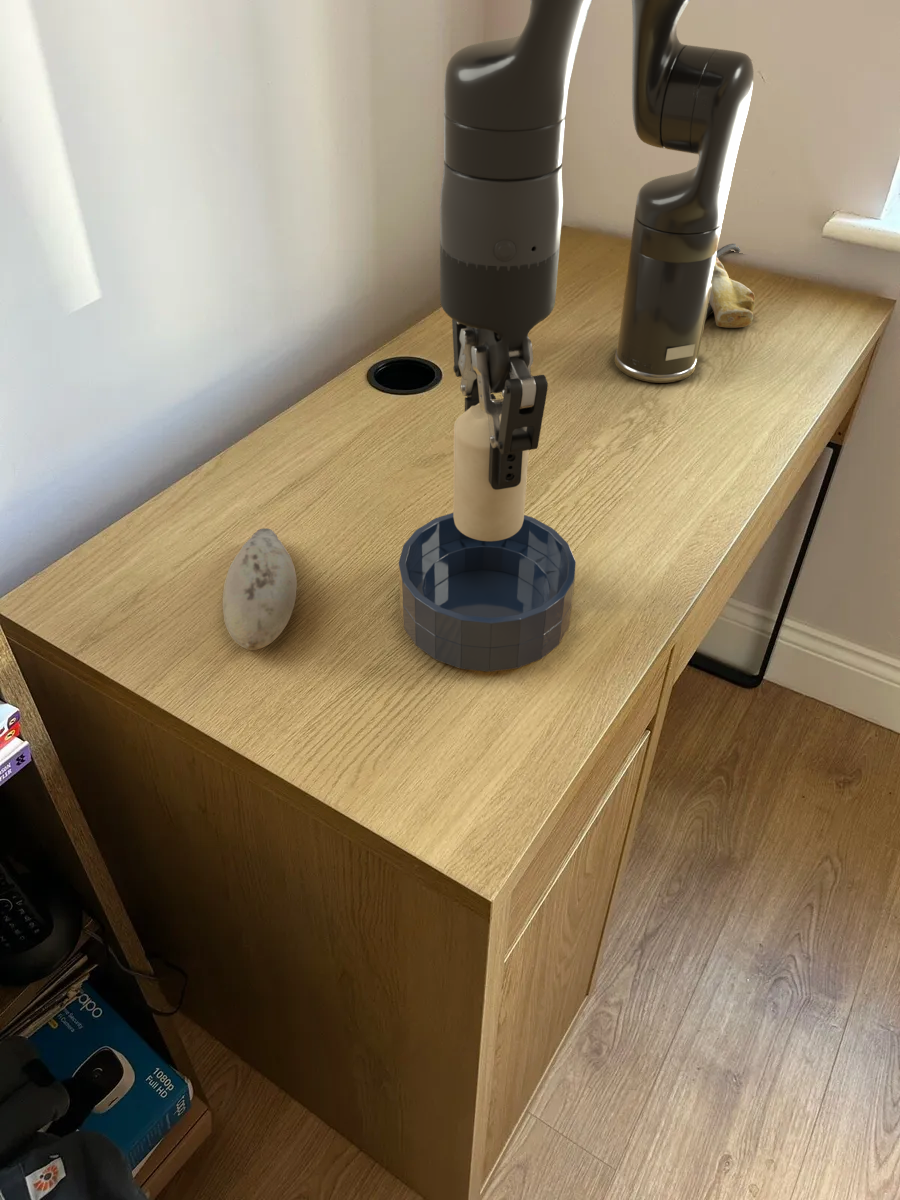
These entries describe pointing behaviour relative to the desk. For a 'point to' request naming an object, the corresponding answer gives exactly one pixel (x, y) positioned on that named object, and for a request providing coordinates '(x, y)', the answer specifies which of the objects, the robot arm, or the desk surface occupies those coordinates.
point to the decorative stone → (259, 591)
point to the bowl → (486, 594)
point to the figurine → (730, 299)
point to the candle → (483, 484)
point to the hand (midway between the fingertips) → (491, 461)
